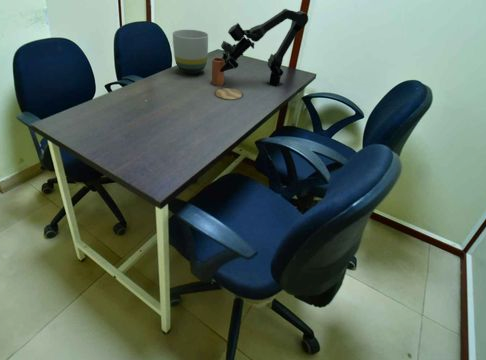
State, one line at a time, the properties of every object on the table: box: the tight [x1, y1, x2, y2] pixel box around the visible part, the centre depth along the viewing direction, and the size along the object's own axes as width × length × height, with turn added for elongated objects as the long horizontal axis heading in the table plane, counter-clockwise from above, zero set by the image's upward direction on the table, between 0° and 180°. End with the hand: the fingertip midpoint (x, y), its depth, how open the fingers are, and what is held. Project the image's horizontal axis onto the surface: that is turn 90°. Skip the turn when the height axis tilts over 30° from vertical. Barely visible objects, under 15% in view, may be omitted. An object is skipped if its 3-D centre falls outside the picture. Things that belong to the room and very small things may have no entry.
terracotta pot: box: [211, 57, 225, 86], centre depth 164 cm, size 7×7×13 cm
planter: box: [172, 29, 209, 75], centre depth 172 cm, size 20×20×21 cm
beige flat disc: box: [215, 87, 243, 101], centre depth 157 cm, size 14×14×1 cm
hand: (219, 68), depth 163 cm, fingers open, 9 cm apart
